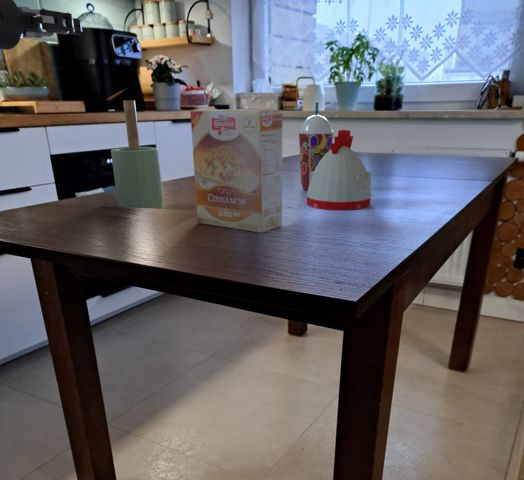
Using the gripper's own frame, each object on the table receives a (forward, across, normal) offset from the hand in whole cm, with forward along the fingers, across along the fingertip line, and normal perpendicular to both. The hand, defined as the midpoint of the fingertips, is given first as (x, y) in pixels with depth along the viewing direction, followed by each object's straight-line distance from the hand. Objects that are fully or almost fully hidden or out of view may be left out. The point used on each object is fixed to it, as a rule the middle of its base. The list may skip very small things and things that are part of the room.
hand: (59, 28), depth 87 cm
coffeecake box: (+7, +29, -32) cm, 44 cm away
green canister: (+14, +2, -32) cm, 35 cm away
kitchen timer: (+34, +40, -32) cm, 62 cm away
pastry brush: (+14, +2, -31) cm, 34 cm away
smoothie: (+50, +29, -32) cm, 66 cm away
